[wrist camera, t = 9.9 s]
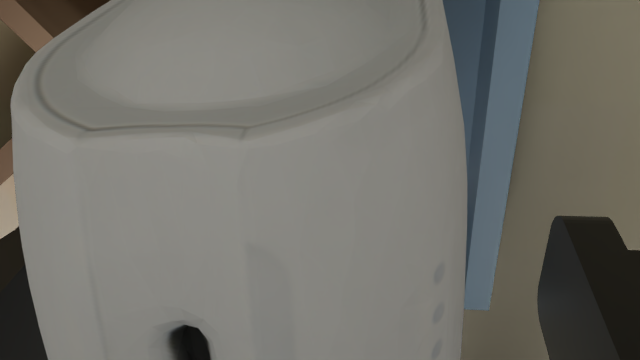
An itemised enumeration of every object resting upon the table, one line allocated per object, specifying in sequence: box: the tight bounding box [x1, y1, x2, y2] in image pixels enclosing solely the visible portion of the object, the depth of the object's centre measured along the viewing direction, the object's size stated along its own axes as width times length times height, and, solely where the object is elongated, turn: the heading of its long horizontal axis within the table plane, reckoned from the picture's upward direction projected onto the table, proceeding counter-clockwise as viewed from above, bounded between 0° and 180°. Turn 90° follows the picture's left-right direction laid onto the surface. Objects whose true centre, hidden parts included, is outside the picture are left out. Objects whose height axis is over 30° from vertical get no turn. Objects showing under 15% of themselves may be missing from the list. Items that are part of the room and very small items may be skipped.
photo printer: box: [11, 0, 467, 360], centre depth 10 cm, size 10×4×12 cm, turn 5°
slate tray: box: [442, 0, 539, 311], centre depth 14 cm, size 14×9×2 cm, turn 5°
